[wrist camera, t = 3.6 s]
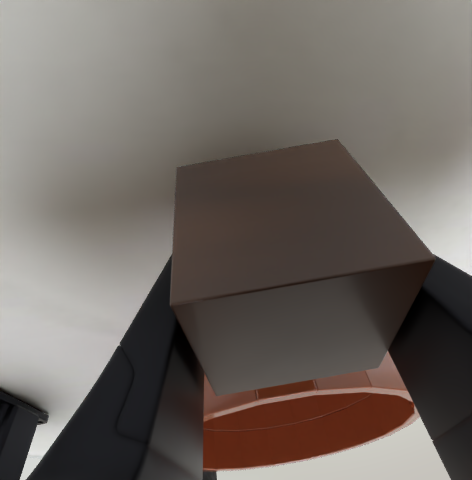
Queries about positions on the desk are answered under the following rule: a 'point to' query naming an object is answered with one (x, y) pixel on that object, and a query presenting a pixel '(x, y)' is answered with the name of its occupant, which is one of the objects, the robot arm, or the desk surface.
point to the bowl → (303, 418)
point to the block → (289, 267)
